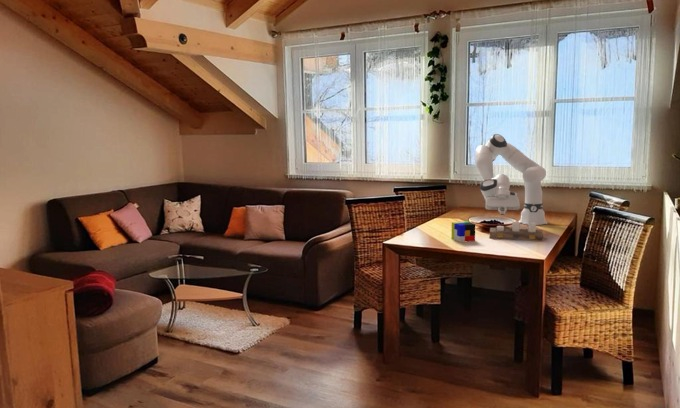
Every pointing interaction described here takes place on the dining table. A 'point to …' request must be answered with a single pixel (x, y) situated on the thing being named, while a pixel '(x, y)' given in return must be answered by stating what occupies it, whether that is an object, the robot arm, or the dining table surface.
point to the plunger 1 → (500, 228)
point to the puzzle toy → (463, 231)
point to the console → (516, 234)
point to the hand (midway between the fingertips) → (502, 214)
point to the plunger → (531, 227)
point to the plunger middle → (516, 226)
